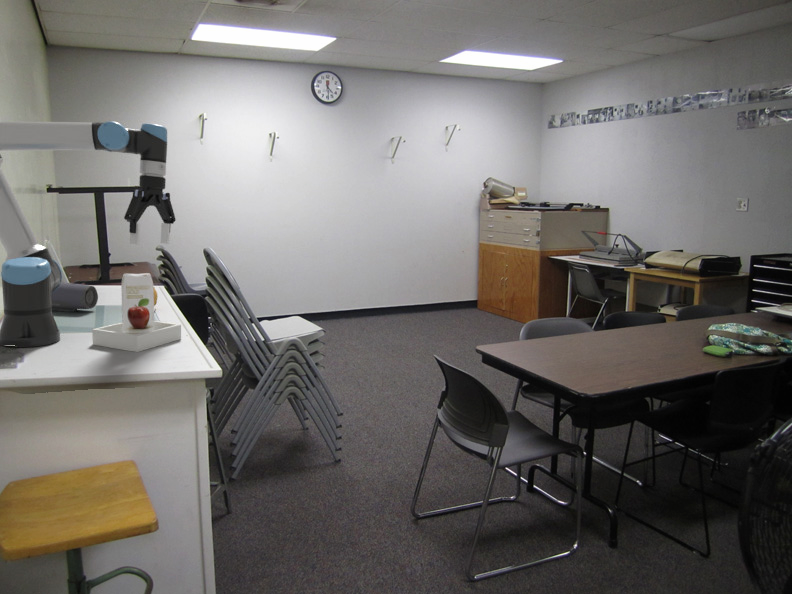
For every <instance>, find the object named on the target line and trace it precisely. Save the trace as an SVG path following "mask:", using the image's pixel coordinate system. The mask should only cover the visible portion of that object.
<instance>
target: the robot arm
mask: <svg viewBox="0 0 792 594" xmlns="http://www.w3.org/2000/svg"><path fill="white" fill-rule="evenodd" d="M0 151H105V152H110V153H112V152H113V153H123V154H131V155H139V156H140V160H139V173H140V174H141V175H139V183H138V184H139V187H140V188H141V189H133V191H132V197H131V199H130V202H129V205H128V208H127V209H126V211H125V214H124V216H123V218H124V220H125V221H126V222H127V223H129V233H130V236H129V237H130V238H129V244H131V245H140V231H141V230H140V228H141V227H140V226H141V223H140V222H139V220H140V219H141V218H142V216H143V214H144V212H145V211H146V210H147V208H148V207H150V206H152V207H155V208H156V209H155V210H156V211H157V212H158V214H159V216H160V218H161V220H162V222H161V225H160V227H161V228H160V243H161V244H165V245H166V244H170V234H171V224H172V225H174V222H175V221H176V220H177V219H176V216H175V212H174V209H173V204H172V202H171V194H170V192H165V191H163V190H165V189H166V177H164V176H166V174H167V171H166V170H167V168H166V167H167V153H168V128H166V127H165V126H163V125H160V124H155V123H142V124H141V127H140V129H137V128H127V127H125V126H124V125H123V124H122V123H120V122H118V121H112V120H110V121H105V122H89V121H88V122H84V121H82V122H80V121H78V122H76V121H75V122H73V121H68V122H67V121H0ZM3 160H4V158H3V156H2V155H1V154H0V242H1V244H2V247H3V248H4V250H5V252H6V253H7V256H6V258H5V260H4V262H3V263H2V265H1V271H0V277H1V284H2V285H1V286H2V299H3V300H2V301H3V318H2V322H1V325H0V346H2V347H5V346H4V345H15V346H17V347H16V348H33V347H41V346H47V345H51V344H54V343H57V342H59V341H60V340H61V332H60V329H59V328H58V325H57V322H56V320H55V318H54V315H53V310H52V301H51V294H52V293H53V292H54V291H56V290H57V288H58V287H59V285H60V283H61V282H62V279H63V272H62V268H61V266H60V265H59V263H57V261H56V260H54V259H53V258H52V256H51V254H50V252H49V249H48V248H47V247H46V246H44V245H41V244H40V243H38V242H39V241H38V240H37V238H36V236H35V234H34V232H33V230H32V228H31V226H30V224H29V222H28V220H27V218H26V215H25V214H24V211H23V210H22V207H21V206H20V204H19V201H18V199H17V198H16V196H15V193H14V192H13V190H12V188H11V186H10V184H9V182H8V180H7V178H6V176H5V174H4V172H3V170H2V168H1V165H2V163H3Z"/></svg>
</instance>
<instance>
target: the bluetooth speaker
mask: <svg viewBox="0 0 792 594" xmlns="http://www.w3.org/2000/svg"><path fill="white" fill-rule="evenodd" d="M98 300H99V294H98V291H97V289H96V287H95V286H94V285H88V284H83V283H82V284H81V283H71V282H62V281H61V283H60V285H59V287H58V288H57V290H56V291H54V292H53V293H52V294H51V301H52V311H59V312H76V311H78V310H91V309H93V308H95V307H96V306H97V304H98Z"/></svg>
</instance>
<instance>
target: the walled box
mask: <svg viewBox="0 0 792 594" xmlns="http://www.w3.org/2000/svg"><path fill="white" fill-rule="evenodd" d="M91 330H92V333H91V334H92V345H94V346H98V347H106V348H112V349H118V350H122V351H129V352H134V353H135V352H136V353H139V352H142V351H145V350H148V349H153V348H155V347H158V346H162V345H166V344H169V343H172V342H175V341H178V340H182V324H179V323H173V322H167V321H165V322H164V321H158V320H154V331H150V332H146V333H143V334H139V335H133V334H127V333H123V325H122V322H119V323H113V324H110V325H105V326H100V327H97V328H92V329H91Z"/></svg>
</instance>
